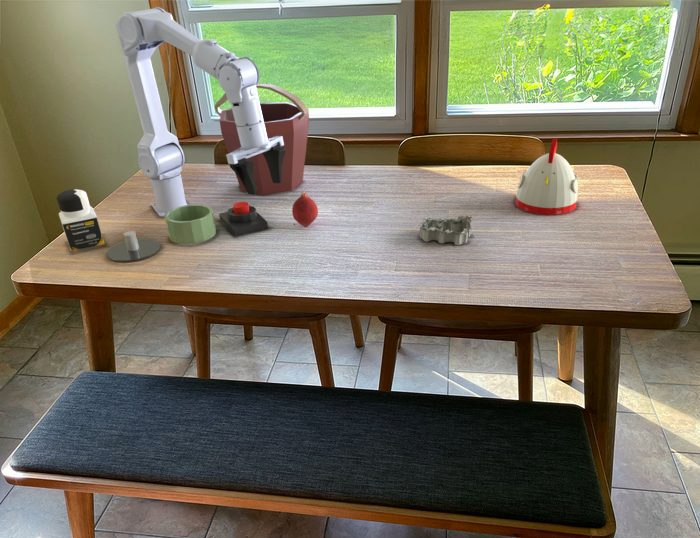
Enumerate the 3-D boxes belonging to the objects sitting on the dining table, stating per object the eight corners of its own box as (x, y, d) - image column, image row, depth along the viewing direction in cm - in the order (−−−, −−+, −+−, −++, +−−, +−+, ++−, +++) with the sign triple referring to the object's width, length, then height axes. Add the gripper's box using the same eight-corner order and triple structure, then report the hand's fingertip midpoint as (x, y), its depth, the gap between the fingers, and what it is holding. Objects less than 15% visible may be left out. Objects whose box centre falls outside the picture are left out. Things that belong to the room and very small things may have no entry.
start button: (231, 211, 142) (230, 203, 141) (246, 207, 143) (245, 200, 142) (236, 216, 139) (235, 208, 138) (251, 212, 141) (250, 205, 140)
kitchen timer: (510, 211, 143) (518, 146, 135) (520, 191, 154) (527, 129, 145) (573, 217, 139) (584, 150, 130) (578, 196, 149) (589, 133, 141)
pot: (165, 233, 141) (159, 210, 138) (208, 223, 145) (204, 201, 141) (176, 249, 133) (171, 226, 130) (222, 239, 137) (218, 215, 134)
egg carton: (473, 233, 134) (474, 216, 132) (464, 247, 128) (465, 229, 126) (426, 227, 138) (427, 210, 135) (415, 240, 132) (416, 222, 130)
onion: (315, 232, 138) (312, 197, 133) (290, 231, 139) (287, 196, 135) (321, 222, 143) (319, 188, 138) (297, 220, 144) (294, 187, 139)
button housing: (219, 220, 146) (217, 206, 144) (251, 213, 149) (249, 199, 147) (234, 236, 138) (232, 222, 136) (268, 228, 141) (266, 214, 139)
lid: (103, 250, 135) (97, 230, 132) (154, 238, 139) (150, 218, 136) (112, 269, 126) (106, 249, 124) (166, 257, 130) (162, 236, 128)
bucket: (209, 189, 164) (192, 90, 150) (261, 165, 179) (249, 73, 165) (283, 204, 153) (271, 98, 139) (331, 177, 168) (325, 79, 154)
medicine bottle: (71, 253, 134) (54, 200, 127) (67, 242, 139) (51, 190, 132) (105, 246, 136) (90, 193, 129) (100, 235, 142) (85, 184, 135)
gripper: (236, 132, 120) (252, 200, 126) (287, 114, 129) (300, 178, 135) (213, 132, 124) (231, 198, 131) (265, 115, 133) (278, 177, 140)
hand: (265, 188), depth 133 cm, fingers open, 7 cm apart
